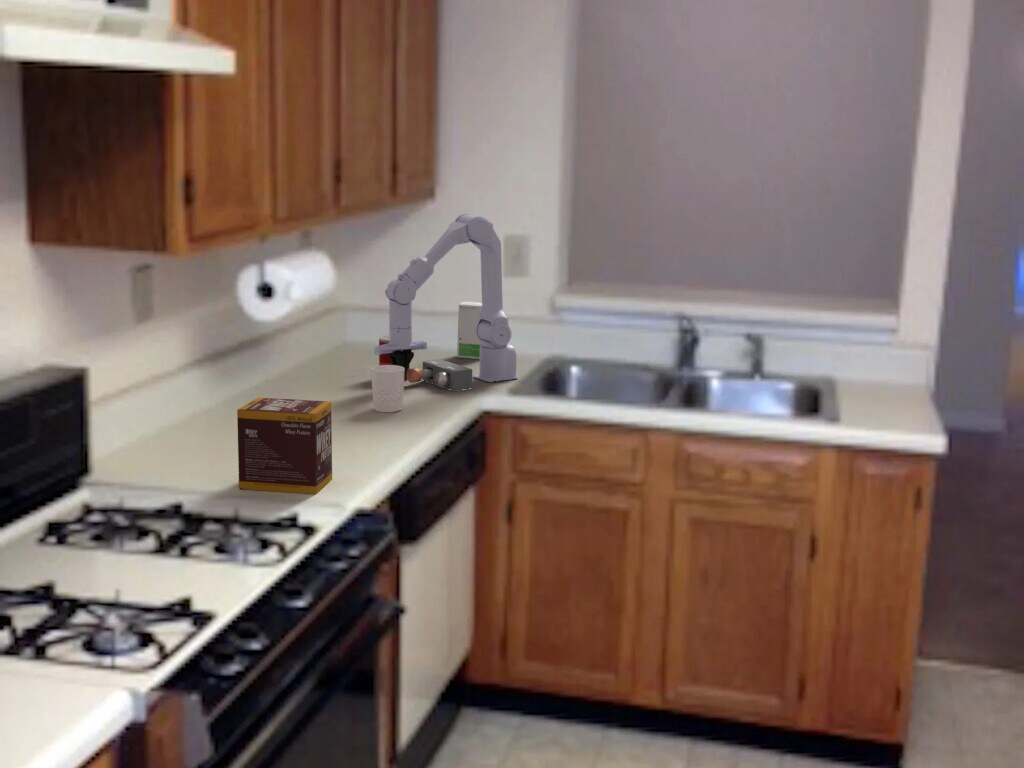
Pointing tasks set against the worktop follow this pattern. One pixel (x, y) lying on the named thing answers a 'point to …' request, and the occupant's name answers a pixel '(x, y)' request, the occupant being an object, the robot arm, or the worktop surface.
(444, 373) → the knob aluminium
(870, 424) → the worktop surface
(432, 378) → the mount
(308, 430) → the supplement box
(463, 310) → the skincare box
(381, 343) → the canned food
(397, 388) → the white cup
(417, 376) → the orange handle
